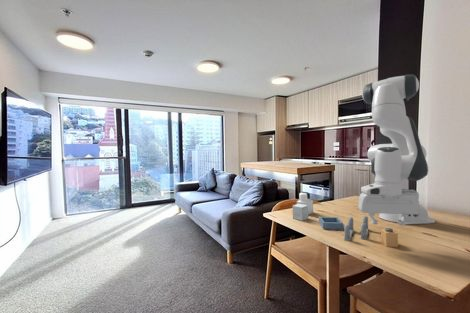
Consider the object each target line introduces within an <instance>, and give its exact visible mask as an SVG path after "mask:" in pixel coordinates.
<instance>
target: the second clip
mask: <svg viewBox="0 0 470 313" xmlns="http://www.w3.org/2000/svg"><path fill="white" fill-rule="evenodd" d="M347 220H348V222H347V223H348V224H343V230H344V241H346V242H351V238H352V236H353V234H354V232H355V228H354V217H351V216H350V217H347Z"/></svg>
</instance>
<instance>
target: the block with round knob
mask: <svg viewBox="0 0 470 313" xmlns="http://www.w3.org/2000/svg"><path fill="white" fill-rule="evenodd" d="M398 234H399V233H398V232H397V231H395V230H394V229H393V228H391V227H385V228H380V242H381V244H383V245H384V246H385V247H399V240H398V239H399V236H398Z"/></svg>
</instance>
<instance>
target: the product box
mask: <svg viewBox="0 0 470 313" xmlns="http://www.w3.org/2000/svg"><path fill="white" fill-rule="evenodd" d="M292 219H294V220H299V221H301V222H303V221H305V220H308V219H309V215H308V205H303V204H297V203H296V204H293V205H292Z"/></svg>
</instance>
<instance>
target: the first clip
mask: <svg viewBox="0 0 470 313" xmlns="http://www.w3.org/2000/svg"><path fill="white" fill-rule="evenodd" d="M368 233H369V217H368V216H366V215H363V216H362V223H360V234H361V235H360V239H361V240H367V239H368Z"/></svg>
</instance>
